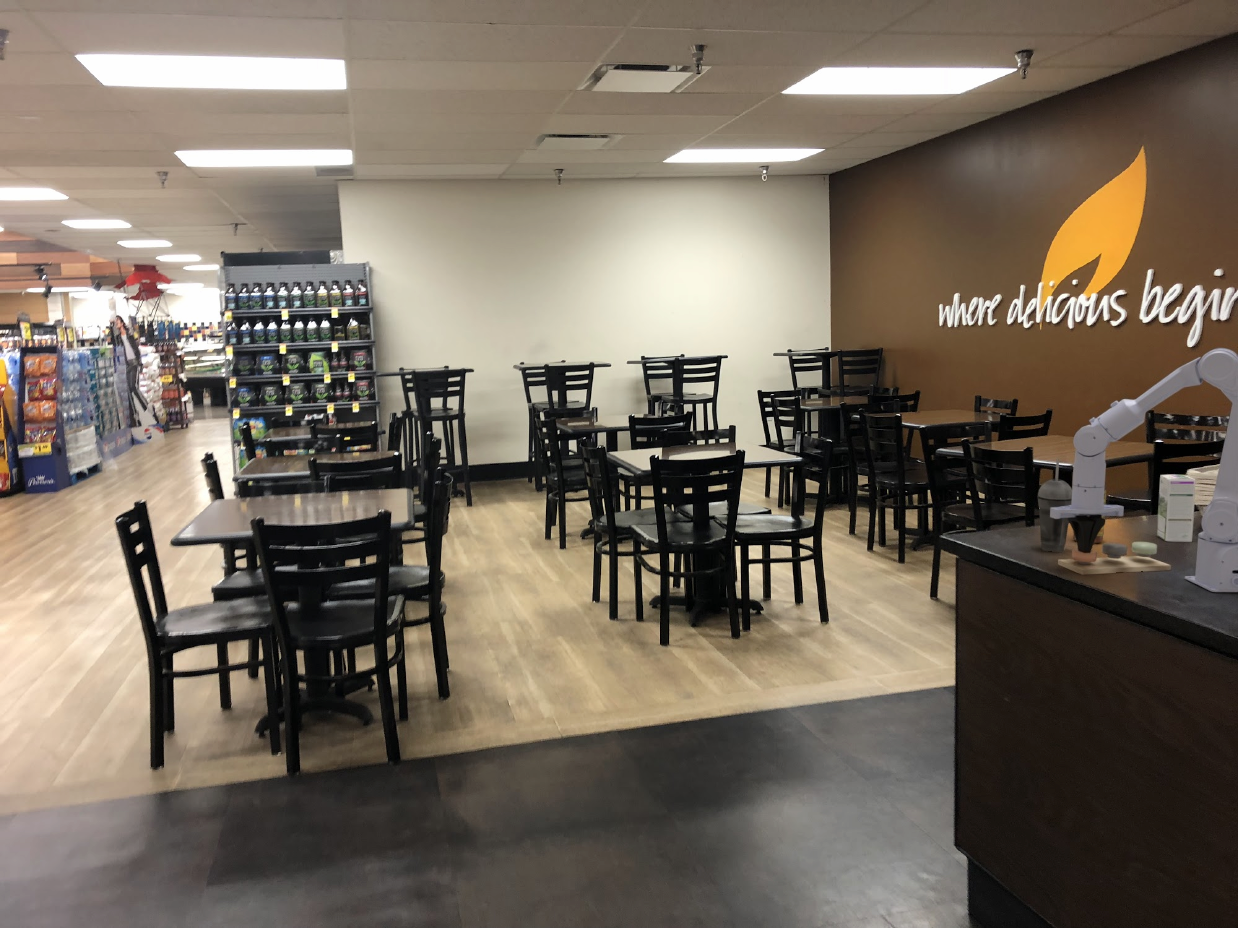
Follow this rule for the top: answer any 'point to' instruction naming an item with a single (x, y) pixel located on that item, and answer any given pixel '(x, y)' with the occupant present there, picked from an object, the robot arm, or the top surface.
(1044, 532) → the beverage cup
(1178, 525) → the syrup box
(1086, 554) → the terracotta button
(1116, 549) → the charcoal button
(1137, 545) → the sage button
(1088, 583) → the top surface
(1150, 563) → the button board
